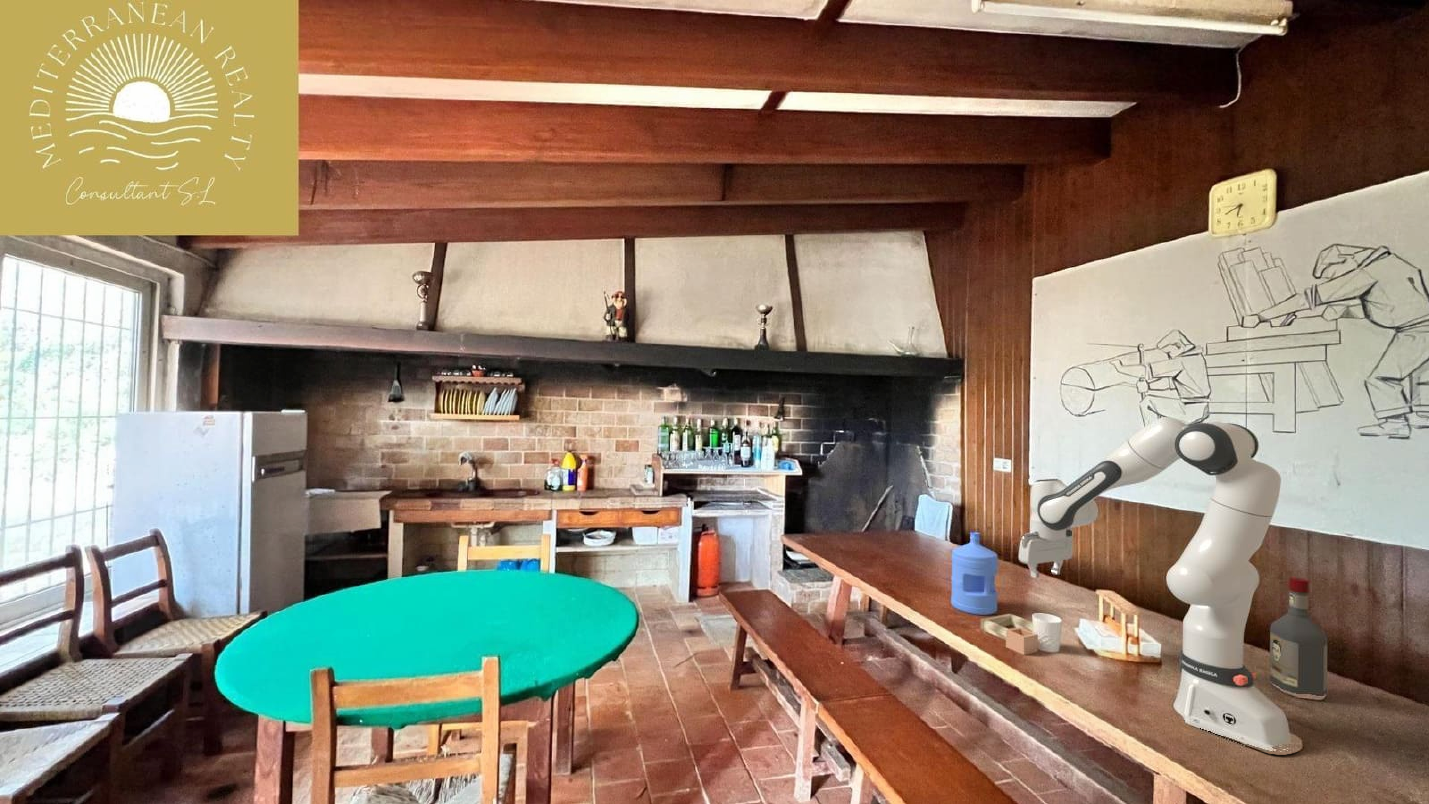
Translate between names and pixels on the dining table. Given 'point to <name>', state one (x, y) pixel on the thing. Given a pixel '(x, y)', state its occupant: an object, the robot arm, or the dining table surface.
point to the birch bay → (1004, 624)
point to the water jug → (974, 578)
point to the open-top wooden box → (1022, 640)
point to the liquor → (1298, 646)
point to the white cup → (1047, 631)
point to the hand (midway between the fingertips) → (1045, 575)
